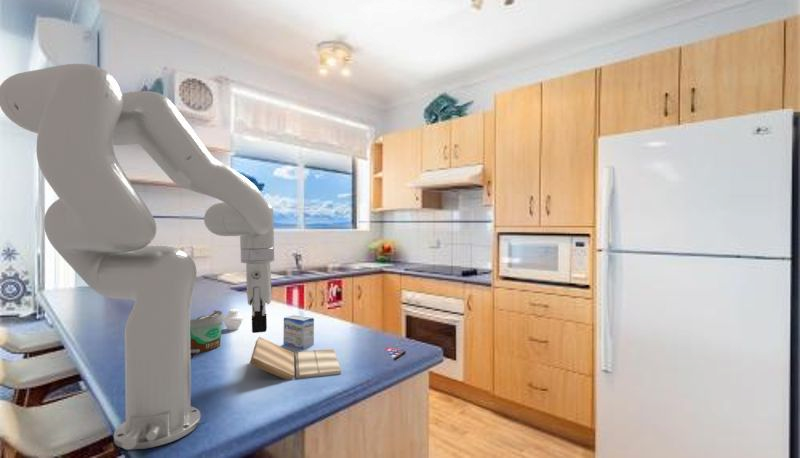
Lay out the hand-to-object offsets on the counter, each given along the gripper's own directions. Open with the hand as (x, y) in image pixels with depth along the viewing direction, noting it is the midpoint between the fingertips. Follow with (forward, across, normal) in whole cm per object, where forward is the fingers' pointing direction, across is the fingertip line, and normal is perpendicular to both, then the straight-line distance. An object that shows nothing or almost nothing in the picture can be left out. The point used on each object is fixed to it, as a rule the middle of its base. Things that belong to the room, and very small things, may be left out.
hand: (259, 331), depth 91 cm
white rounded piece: (+11, +42, +12) cm, 45 cm away
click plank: (+7, -1, -3) cm, 8 cm away
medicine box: (+11, +16, -9) cm, 21 cm away
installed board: (+10, -1, -13) cm, 17 cm away
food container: (+10, +20, +15) cm, 27 cm away
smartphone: (+11, 0, -30) cm, 32 cm away
